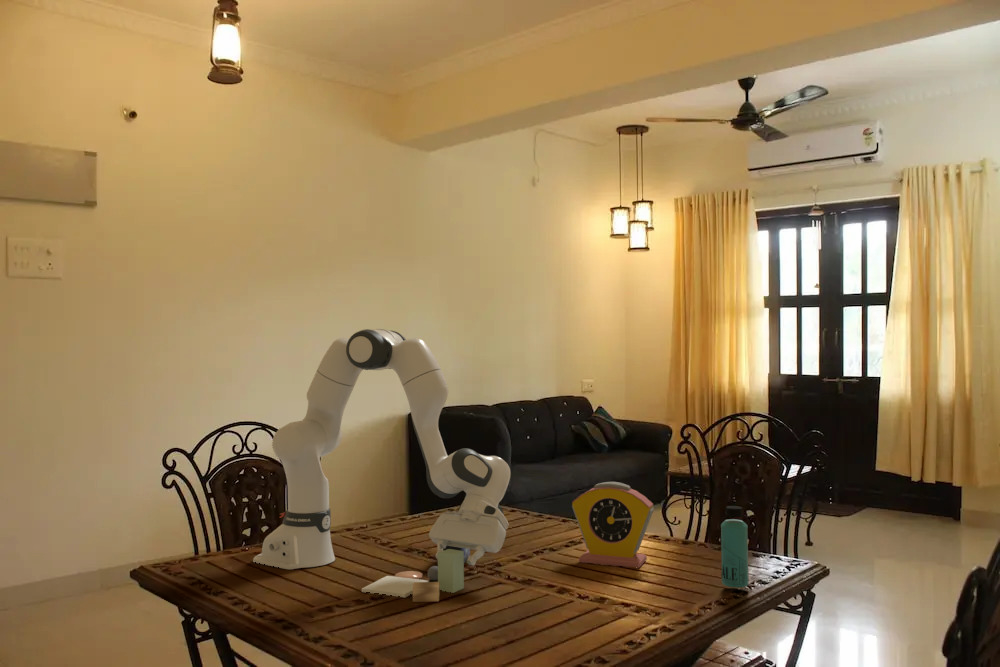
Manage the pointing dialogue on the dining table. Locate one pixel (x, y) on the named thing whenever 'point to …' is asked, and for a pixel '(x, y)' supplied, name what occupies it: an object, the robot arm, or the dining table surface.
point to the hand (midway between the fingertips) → (454, 561)
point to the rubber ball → (433, 573)
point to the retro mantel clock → (613, 524)
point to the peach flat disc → (409, 574)
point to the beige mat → (393, 586)
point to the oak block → (425, 591)
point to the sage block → (451, 570)
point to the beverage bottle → (734, 549)
